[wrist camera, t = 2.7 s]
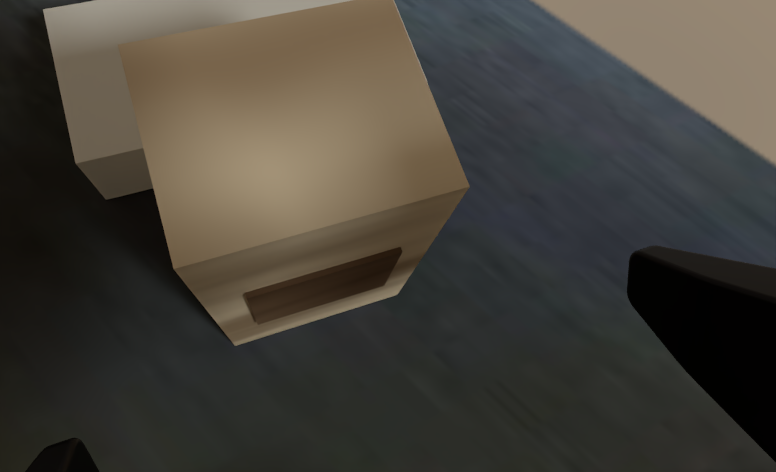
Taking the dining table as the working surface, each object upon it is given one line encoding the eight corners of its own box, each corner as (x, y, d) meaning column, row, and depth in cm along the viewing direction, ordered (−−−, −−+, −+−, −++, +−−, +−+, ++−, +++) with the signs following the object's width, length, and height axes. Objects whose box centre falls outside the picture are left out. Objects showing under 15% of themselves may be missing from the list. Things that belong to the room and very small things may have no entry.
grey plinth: (413, 124, 24) (427, 82, 21) (106, 199, 21) (75, 163, 18) (366, 6, 25) (374, -47, 22) (75, 62, 23) (42, 9, 20)
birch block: (398, 298, 21) (472, 192, 12) (236, 350, 20) (175, 276, 11) (355, 175, 23) (390, -7, 13) (200, 215, 21) (117, 44, 12)
